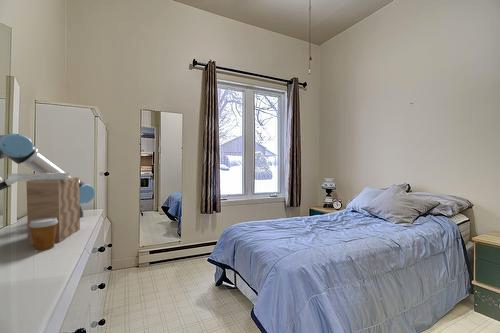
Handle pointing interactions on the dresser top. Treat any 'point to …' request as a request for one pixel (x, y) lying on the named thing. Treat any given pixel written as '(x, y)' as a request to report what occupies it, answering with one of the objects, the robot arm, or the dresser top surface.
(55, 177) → the steel bar
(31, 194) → the walnut shelf
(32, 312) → the dresser top surface
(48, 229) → the disposable coffee cup
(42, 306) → the dresser top surface
